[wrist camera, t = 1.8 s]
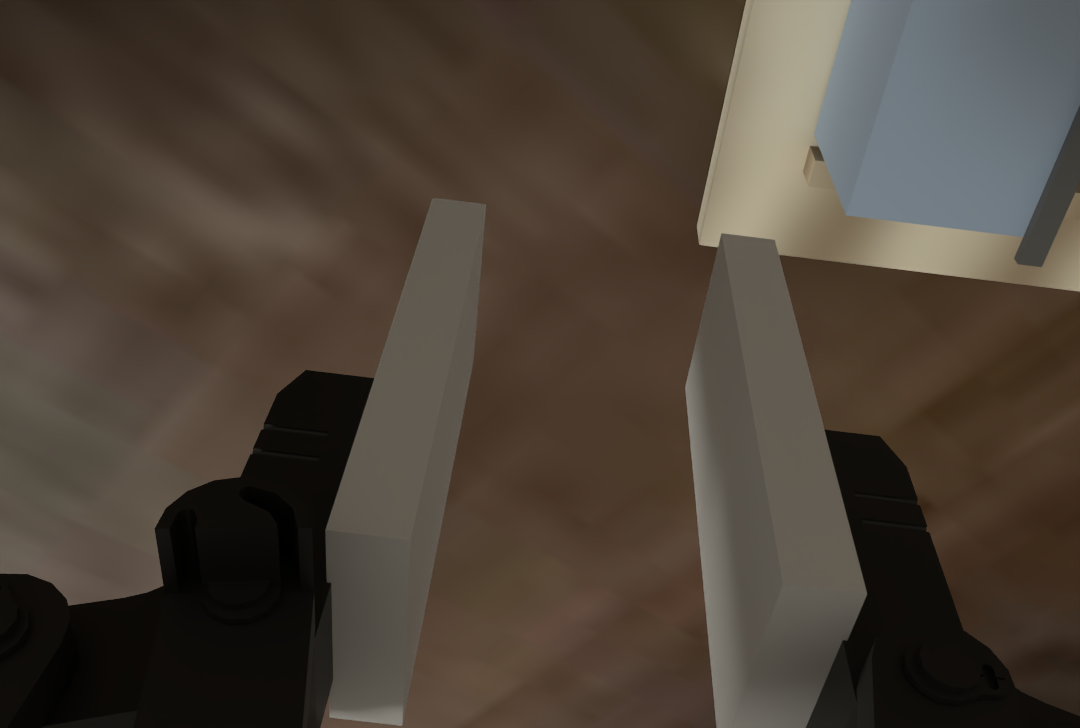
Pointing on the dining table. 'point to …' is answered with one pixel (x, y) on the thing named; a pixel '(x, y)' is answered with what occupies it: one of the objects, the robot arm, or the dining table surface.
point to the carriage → (957, 116)
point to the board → (803, 178)
